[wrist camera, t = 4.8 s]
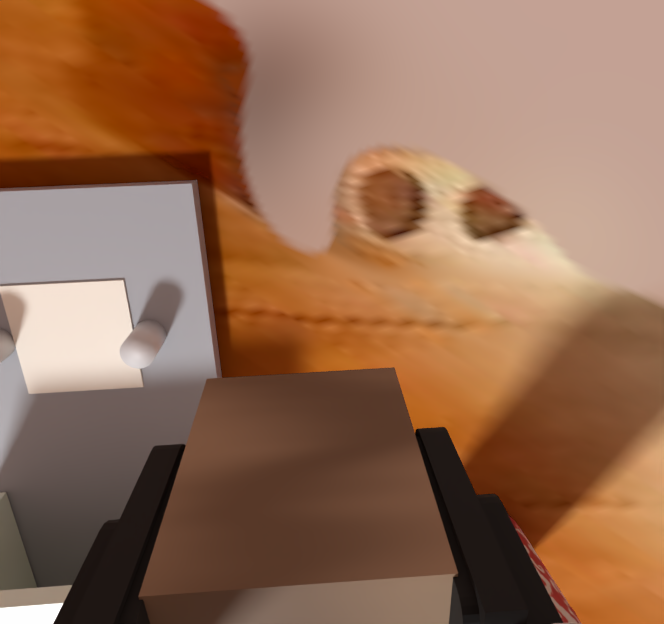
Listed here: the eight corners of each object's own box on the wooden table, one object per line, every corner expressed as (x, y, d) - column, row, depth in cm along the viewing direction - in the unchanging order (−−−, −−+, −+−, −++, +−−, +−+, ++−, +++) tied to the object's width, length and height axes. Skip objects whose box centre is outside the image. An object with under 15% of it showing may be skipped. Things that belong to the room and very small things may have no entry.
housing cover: (225, 477, 26) (202, 592, 20) (241, 593, 29) (224, 725, 23) (-11, 493, 25) (-112, 616, 19) (29, 610, 28) (-48, 750, 22)
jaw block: (393, 367, 11) (457, 573, 6) (391, 506, 13) (441, 746, 8) (207, 378, 11) (138, 597, 6) (229, 517, 13) (188, 767, 8)
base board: (197, 180, 22) (181, 190, 19) (247, 580, 30) (241, 631, 27) (-194, 196, 21) (-274, 209, 18) (-33, 601, 29) (-70, 656, 26)
